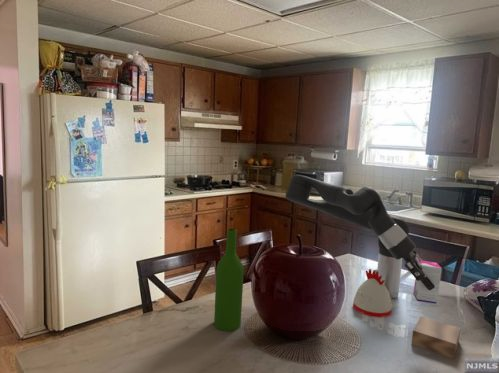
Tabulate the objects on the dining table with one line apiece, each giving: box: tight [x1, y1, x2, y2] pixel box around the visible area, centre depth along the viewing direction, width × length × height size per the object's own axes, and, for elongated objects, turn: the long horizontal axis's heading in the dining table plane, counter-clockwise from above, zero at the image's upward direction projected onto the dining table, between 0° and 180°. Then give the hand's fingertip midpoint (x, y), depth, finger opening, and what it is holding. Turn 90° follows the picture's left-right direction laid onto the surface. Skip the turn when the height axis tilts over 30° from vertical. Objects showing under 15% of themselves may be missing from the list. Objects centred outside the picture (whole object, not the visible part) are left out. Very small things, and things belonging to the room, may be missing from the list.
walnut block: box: [411, 316, 461, 359], centre depth 118 cm, size 12×12×5 cm
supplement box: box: [412, 260, 443, 305], centre depth 115 cm, size 6×6×12 cm
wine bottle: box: [213, 228, 244, 332], centre depth 121 cm, size 9×9×32 cm
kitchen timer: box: [352, 268, 393, 318], centre depth 140 cm, size 14×14×15 cm
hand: (432, 284), depth 114 cm, fingers closed on supplement box, 7 cm apart
